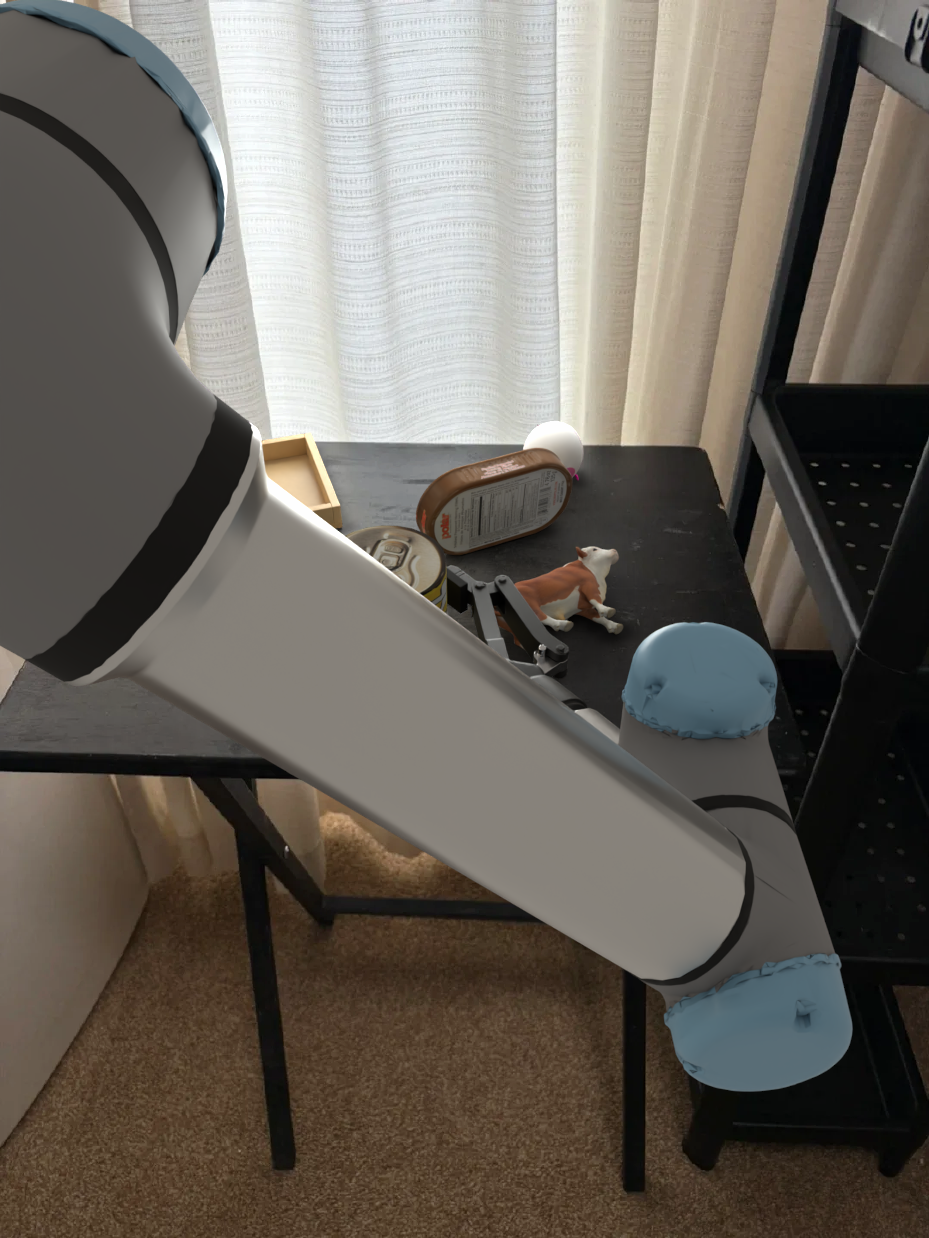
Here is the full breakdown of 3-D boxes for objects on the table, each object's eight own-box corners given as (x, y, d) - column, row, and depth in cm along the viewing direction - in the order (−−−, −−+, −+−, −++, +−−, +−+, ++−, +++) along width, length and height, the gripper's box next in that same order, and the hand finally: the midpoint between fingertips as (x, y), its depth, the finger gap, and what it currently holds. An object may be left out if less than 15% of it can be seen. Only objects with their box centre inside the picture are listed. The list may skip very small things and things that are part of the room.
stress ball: (529, 485, 110) (494, 439, 106) (595, 446, 107) (561, 398, 103) (533, 525, 104) (496, 478, 100) (603, 486, 101) (567, 436, 98)
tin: (557, 509, 101) (563, 433, 95) (574, 526, 99) (580, 450, 93) (415, 551, 96) (412, 474, 90) (429, 571, 94) (427, 493, 88)
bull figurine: (662, 580, 86) (601, 527, 91) (528, 638, 81) (471, 579, 86) (654, 619, 89) (596, 566, 94) (525, 677, 84) (470, 618, 89)
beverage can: (323, 714, 81) (307, 595, 73) (350, 636, 87) (338, 520, 79) (437, 727, 80) (434, 609, 72) (456, 647, 86) (455, 531, 78)
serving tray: (197, 554, 96) (192, 533, 94) (180, 475, 105) (175, 454, 104) (342, 527, 99) (340, 505, 97) (313, 453, 109) (310, 432, 107)
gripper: (420, 881, 66) (234, 690, 78) (663, 708, 77) (467, 565, 89) (416, 806, 61) (219, 615, 73) (677, 632, 72) (467, 492, 84)
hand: (355, 587), depth 81 cm, fingers open, 10 cm apart
